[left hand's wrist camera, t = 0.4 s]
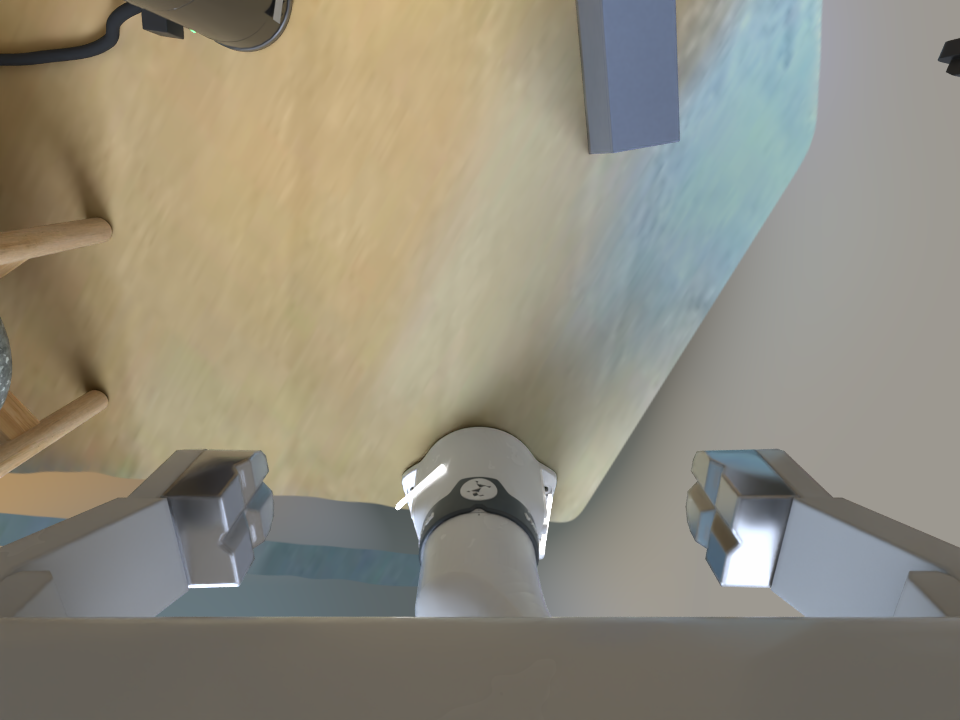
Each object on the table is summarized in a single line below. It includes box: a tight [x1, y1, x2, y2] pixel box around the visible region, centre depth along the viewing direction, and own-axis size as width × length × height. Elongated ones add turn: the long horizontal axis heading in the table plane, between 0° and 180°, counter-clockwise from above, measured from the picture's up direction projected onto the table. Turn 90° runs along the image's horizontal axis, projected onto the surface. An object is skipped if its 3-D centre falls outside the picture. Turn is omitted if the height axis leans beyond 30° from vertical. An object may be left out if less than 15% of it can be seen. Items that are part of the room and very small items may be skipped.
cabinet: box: [576, 0, 680, 154], centre depth 44 cm, size 17×5×10 cm, turn 9°
